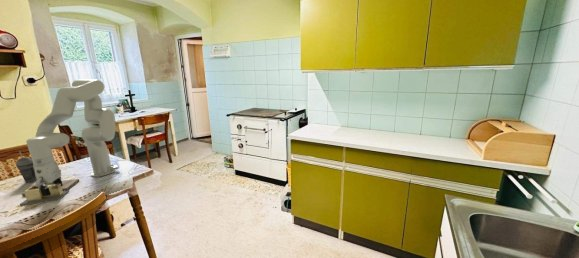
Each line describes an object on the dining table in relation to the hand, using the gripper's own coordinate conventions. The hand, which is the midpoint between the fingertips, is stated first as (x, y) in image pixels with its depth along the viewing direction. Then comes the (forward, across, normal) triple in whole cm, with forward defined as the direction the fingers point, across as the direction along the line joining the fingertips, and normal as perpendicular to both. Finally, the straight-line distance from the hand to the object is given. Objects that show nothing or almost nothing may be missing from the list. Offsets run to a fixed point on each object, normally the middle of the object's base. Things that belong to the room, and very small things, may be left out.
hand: (53, 190), depth 123 cm
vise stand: (+4, +12, +8) cm, 15 cm away
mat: (+4, 0, +4) cm, 6 cm away
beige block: (+3, 0, +3) cm, 4 cm away
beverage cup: (+4, +28, +27) cm, 39 cm away
